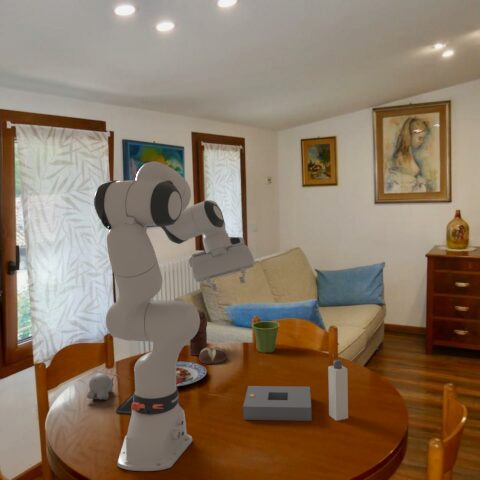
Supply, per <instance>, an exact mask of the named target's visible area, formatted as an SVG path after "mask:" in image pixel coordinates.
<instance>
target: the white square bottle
mask: <svg viewBox="0 0 480 480" xmlns="http://www.w3.org/2000/svg"><path fill="white" fill-rule="evenodd" d="M327 367H328V368H327V369H328V371H327V375H328V377H327V378H328V415H329V416H330V417H331V418H332V419H333V420H335V421H341V420H346V419H349V394H348V393H349V390H348V388H349V387H348V386H349V385H348V383H349V381H348V376H349V375H348V368H347V367H346V366H343V361H342V359H334V360H333V365H330V366H327Z"/></svg>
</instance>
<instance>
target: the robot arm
mask: <svg viewBox="0 0 480 480" xmlns="http://www.w3.org/2000/svg"><path fill="white" fill-rule="evenodd" d="M96 189H97V190H96V191H95V194H94V197H93V205H94V209H95V212H96V214H97V217H98V218H99V219H100V222H101V223H102V226H104V227H105V229H108V230H109V231H108V233H107V235H106V246H107V254H108V259H109V261H110V262H109V263H110V266H111V269H112V272H113V275H114V278H115V280H116V281H115V282H116V285H117V289H118V292H119V293H118V299H117V301H116V302H114V303H113V304H111V305H110V307H109V308H108V311H107V312H106V316H105V326H106V330H107V331H108V333H109V335H110V336H111V337H113V338H116V339H119V340H124V341H128V342H130V341H131V342H151V343H152V351H149V352H147V353H146V354H143V355H142V356H141V357H139V358H138V359H137V360H136V362H135V364H134V367H133V368H134V369H133V371H134V390H135V391H134V392H133V393H134V397H133V403H132V406H131V408H132V414H130V420H129V424H128V427H127V433H126V435H125V436H124V439H123V441H122V442H123V443H122V446H121V449H120V453H119V455H118V456H119V457H118V460H117V464H116V465H117V467H118V468H121V469H122V470H123V469H124V470H128V471H137V472H154V471H155V472H156V471H163V470H166V469H169V468H172V467H173V465H174V464H175V463H176V462H177V461H178V459H180V457H181V456H182V455H183V453H184V452H185V451H186V450H187V449H188V447H189V446H190V445H191V444H192V443H193V437H192V435H190V434H188V433H187V422H186V415H185V410H184V409H183V408H182V407H181V406H180V404H179V399H180V398H179V397H180V396H179V395H180V393H179V388H178V386H177V387H176V364H177V362H178V358H179V355H180V354H181V352H182V349H183V348H184V346H186V345H187V343H189V342H190V340H191V339H192V338H193V337H194V336H195V335H196V333H197V332H198V329H199V326H200V317H199V313H198V311H197V310H198V309H197V308H196V306H195V305H194V304H193V303H188V302H185V301H180V300H163V299H161V300H160V299H158V300H157V299H156V300H155V299H153V298H154V297H156V295H158V294H159V292H160V291H161V290H162V287H163V282H164V281H163V276H162V272H161V268H160V266H159V262H158V257H157V255H156V251H155V249H154V245H153V243H152V241H151V239H150V237H149V235H148V233H147V228H148V227H155V226H156V227H159V228H161V229H162V231H163V232H164V233H165V235H166V237H167V238H168V240H169V241H171V242H172V243H175V244H177V245H178V244H179V245H181V244H182V243H184V242H188V241H189V240H190V239H193V238H196V237H198V236H202V244H203V248H204V251H200V252H198V253H193V254H191V256H190V257H189V258H188V263H189V264H188V265H189V266H190V267H191V268H192V275H193V278H194V280H195V282H197V283H200V282H204V281H205V282H206V284H207V285H209V286H210V287H211V291H212V292H216V291H218V289H217V285H216V284H215V283H214V284H213V283H212V281H211V279H215V278H218V277H221V276H222V277H223V276H225V275H230V274H232V273H236V272H240V273H241V277H239V281H240V284H245V283H246V280H245V276H246V272H247V271H246V270H248V269H251V268H253V267H254V265H255V259H254V256H253V255H252V254H253V253H252V252H251V250H250V248H249V247H248V245H246V244H245V243H246V242H245V239H244V238H243V237H242V236H229V233H228V232H227V229H226V222H225V219H224V216H223V212H222V209H221V208H220V207H219V204H218V203H217V201H214V200H211V199H207V200H203V201H201V202H198V203H196V204H193V205H191V206H189V204H190V202H191V198H192V192H191V187H190V184H189V183H188V181H187V180H186V178H185V177H183V176H182V175H181V174H180V173H179V172H178V171H177V170H175V169H173V167H170V166H169V165H166V164H164V163H163V162H159V161H149V162H146V163H144V164H143V165H142V166H140V168H139V169H138V171H137V173H136V177H135V180H134V179H133V180H132V179H131V180H116V179H115V180H110V181H109V180H108V181H106V182H103V183H101V184H100V185H99V186H98V188H96ZM188 206H189V207H188Z"/></svg>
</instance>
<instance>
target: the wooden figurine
mask: <svg viewBox="0 0 480 480" xmlns="http://www.w3.org/2000/svg"><path fill="white" fill-rule="evenodd" d="M197 311H198V313H199V317H200V326H199V329H198V332H197V333H196V335H195V336H194V337H193V338H192V339H191V340H190V341H189V355H190V356H199V355H200V352H201V350H203V349H204V348H206V347H208V345H207V344H208V342H207V341H208V335H207V333H208V332H207V327H208V320H207V317H206V314H205V312H204V311H203V310H201V309H197Z"/></svg>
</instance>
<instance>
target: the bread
mask: <svg viewBox="0 0 480 480" xmlns="http://www.w3.org/2000/svg"><path fill="white" fill-rule="evenodd" d="M198 359H199V362H200V363H202V364H204V365H205V364H206V365H212V364H213V365H214V364H221V363H222V362H224V361H226V360H227V354H226V353H225V350H224V349H222V348H221V347H219V346H218V347H217V346H214V348H212V349H211V348H210V347H209V346H207V347H206V348H204V349H203V350H201V352H200V355H198Z"/></svg>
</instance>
